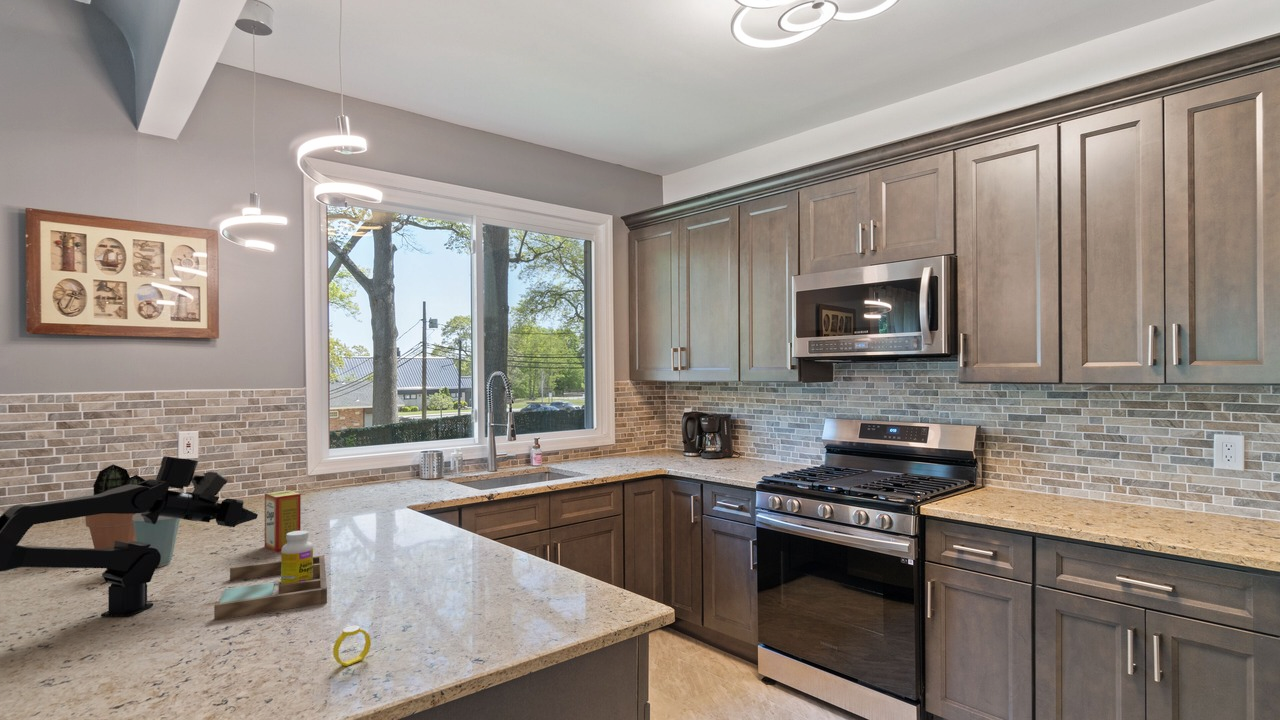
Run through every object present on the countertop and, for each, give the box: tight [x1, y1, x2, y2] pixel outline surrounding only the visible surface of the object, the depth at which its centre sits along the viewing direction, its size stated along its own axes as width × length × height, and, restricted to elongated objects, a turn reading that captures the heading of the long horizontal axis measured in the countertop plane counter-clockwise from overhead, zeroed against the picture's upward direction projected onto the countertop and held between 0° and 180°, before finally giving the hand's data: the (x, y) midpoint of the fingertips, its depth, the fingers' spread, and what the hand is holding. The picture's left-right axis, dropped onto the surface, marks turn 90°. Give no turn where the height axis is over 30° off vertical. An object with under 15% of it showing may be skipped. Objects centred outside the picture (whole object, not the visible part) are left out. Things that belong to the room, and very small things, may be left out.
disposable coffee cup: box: [132, 513, 181, 568], centre depth 171 cm, size 11×11×15 cm
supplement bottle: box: [280, 530, 314, 585], centre depth 152 cm, size 7×7×13 cm
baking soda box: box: [264, 489, 302, 553], centre depth 188 cm, size 10×6×16 cm
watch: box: [332, 625, 372, 667], centre depth 111 cm, size 6×3×6 cm, turn 139°
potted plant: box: [84, 463, 146, 549], centre depth 186 cm, size 14×14×25 cm
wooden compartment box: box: [213, 555, 328, 621], centre depth 150 cm, size 21×30×3 cm
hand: (245, 514), depth 160 cm, fingers open, 9 cm apart
